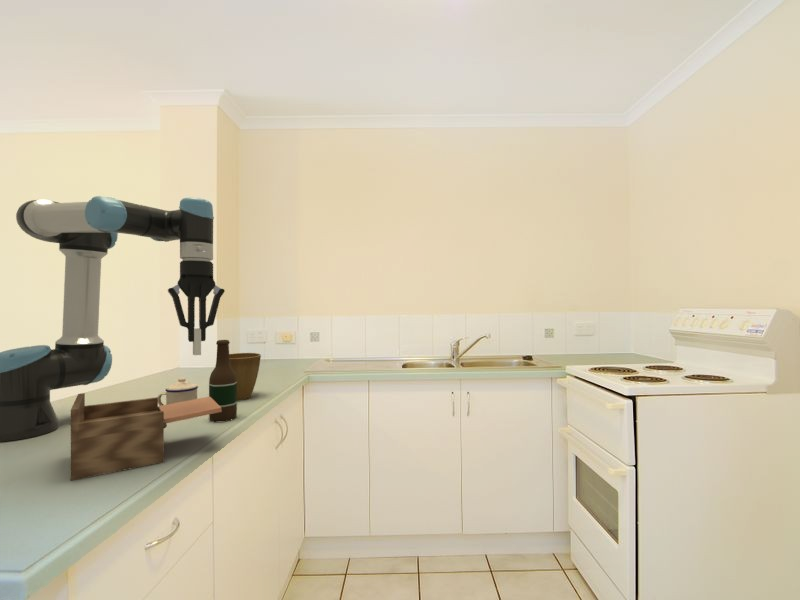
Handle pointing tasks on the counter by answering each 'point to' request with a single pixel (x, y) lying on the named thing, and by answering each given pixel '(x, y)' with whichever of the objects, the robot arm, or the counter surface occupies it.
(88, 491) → the counter surface
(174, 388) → the teacup with lid
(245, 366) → the plant pot
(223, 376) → the beer bottle
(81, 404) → the tray
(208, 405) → the orange rectangular slab
